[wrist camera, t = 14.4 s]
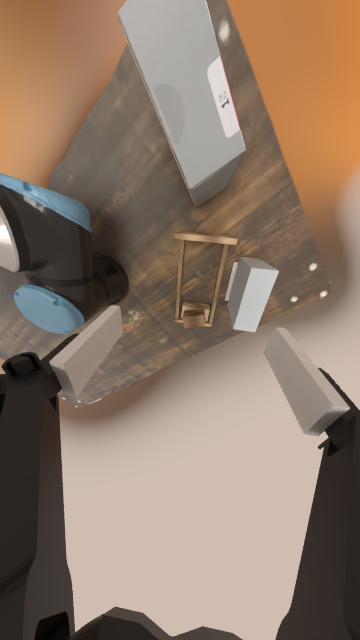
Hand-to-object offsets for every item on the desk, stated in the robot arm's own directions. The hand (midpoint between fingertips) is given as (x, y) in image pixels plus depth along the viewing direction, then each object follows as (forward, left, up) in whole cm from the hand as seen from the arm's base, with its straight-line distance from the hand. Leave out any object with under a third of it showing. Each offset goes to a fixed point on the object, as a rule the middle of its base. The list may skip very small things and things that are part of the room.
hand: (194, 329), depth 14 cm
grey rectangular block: (+12, -5, -34) cm, 36 cm away
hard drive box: (-4, +20, -35) cm, 40 cm away
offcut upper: (0, -15, -31) cm, 35 cm away
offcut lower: (0, -15, -35) cm, 38 cm away
